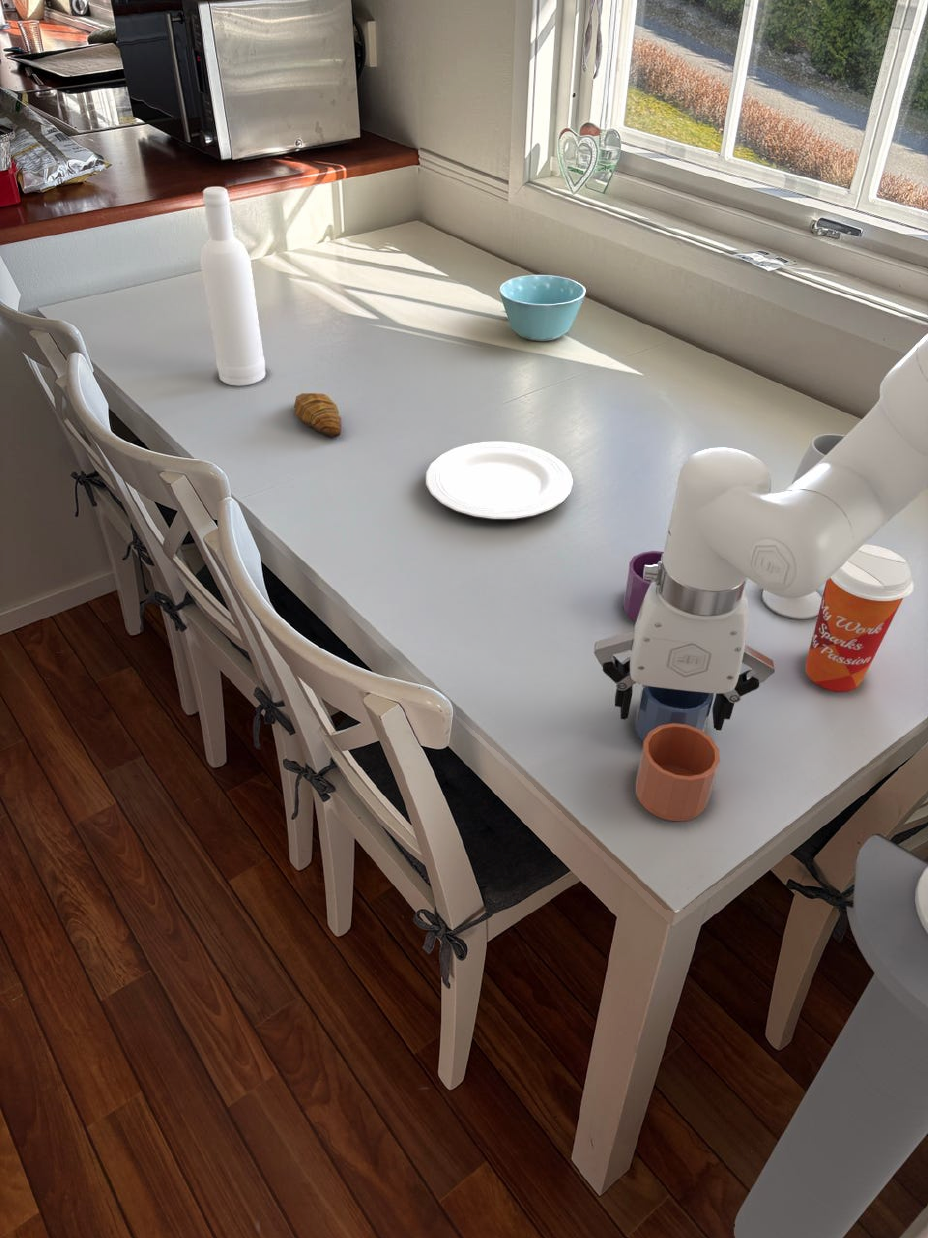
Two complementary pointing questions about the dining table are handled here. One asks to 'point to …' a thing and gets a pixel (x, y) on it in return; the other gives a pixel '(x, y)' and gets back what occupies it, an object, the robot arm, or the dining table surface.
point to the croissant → (318, 413)
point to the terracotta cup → (676, 771)
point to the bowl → (541, 305)
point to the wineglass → (811, 603)
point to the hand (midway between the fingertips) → (669, 715)
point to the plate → (499, 480)
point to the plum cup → (638, 582)
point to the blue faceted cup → (671, 709)
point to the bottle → (230, 296)
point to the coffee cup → (856, 616)
